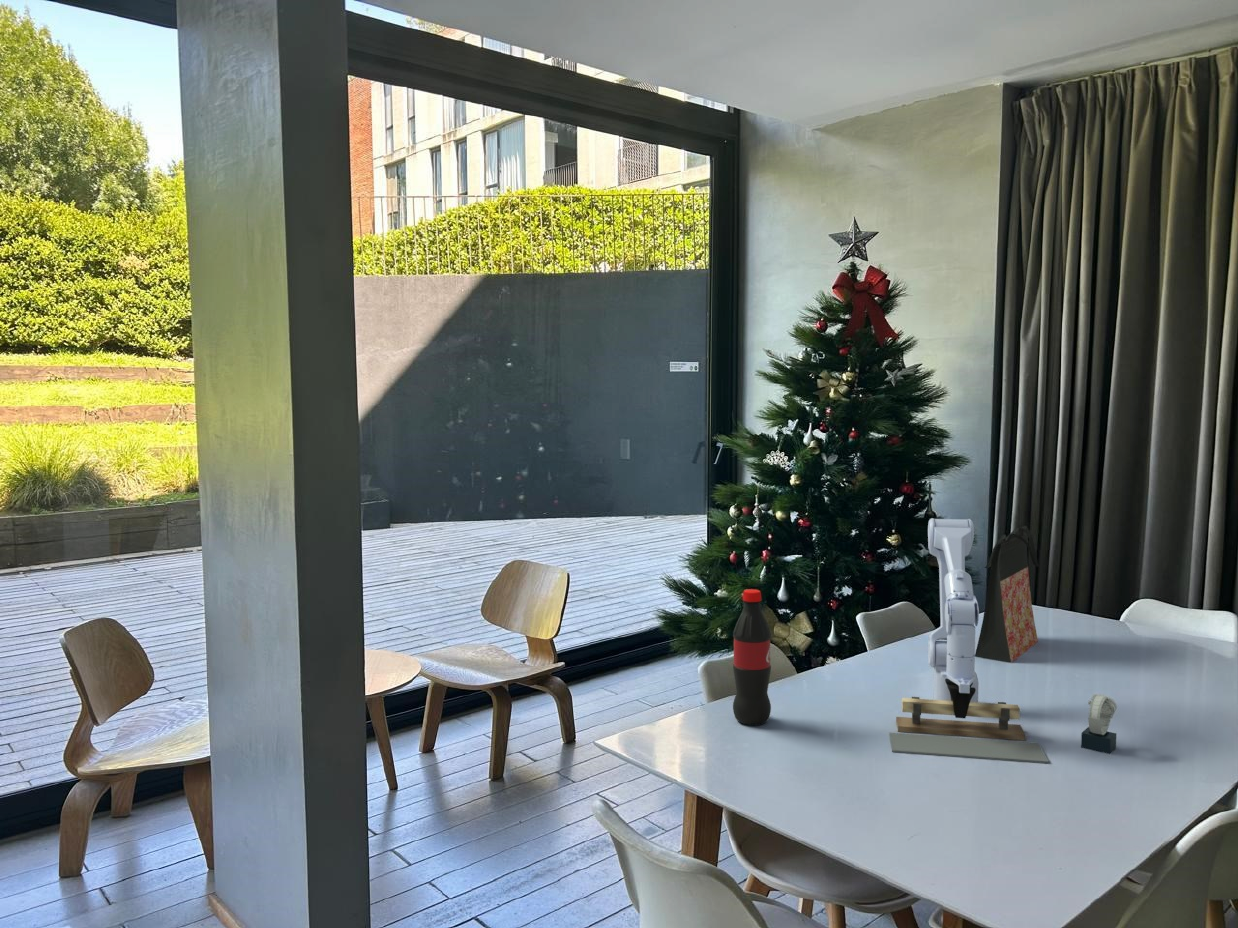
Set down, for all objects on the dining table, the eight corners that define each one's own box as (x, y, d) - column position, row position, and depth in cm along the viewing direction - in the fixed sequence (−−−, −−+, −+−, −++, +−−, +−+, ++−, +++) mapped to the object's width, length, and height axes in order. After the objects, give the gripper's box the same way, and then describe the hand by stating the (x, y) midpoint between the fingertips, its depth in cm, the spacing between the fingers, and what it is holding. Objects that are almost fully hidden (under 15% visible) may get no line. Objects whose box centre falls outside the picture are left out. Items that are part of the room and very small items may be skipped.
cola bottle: (775, 717, 215) (775, 587, 213) (764, 729, 207) (765, 595, 205) (739, 712, 219) (739, 584, 216) (728, 724, 211) (727, 592, 208)
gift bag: (1022, 664, 253) (1025, 535, 250) (968, 655, 262) (971, 530, 259) (1051, 640, 276) (1055, 522, 273) (1001, 633, 284) (1004, 518, 281)
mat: (1038, 744, 197) (1038, 742, 197) (1048, 763, 188) (1048, 761, 188) (889, 734, 204) (889, 732, 204) (892, 751, 194) (892, 749, 194)
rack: (1020, 729, 206) (1020, 702, 205) (1025, 740, 200) (1026, 711, 199) (896, 721, 211) (896, 694, 211) (898, 731, 206) (898, 703, 205)
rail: (1017, 715, 204) (1017, 704, 204) (1019, 719, 202) (1019, 708, 201) (901, 708, 209) (901, 697, 209) (902, 711, 207) (902, 701, 207)
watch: (1118, 745, 197) (1120, 693, 196) (1107, 756, 191) (1109, 703, 190) (1089, 738, 200) (1091, 688, 200) (1077, 749, 195) (1079, 697, 194)
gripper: (937, 643, 212) (936, 702, 213) (945, 662, 198) (943, 725, 199) (970, 645, 211) (969, 704, 212) (980, 664, 196) (979, 727, 198)
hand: (959, 715), depth 205 cm, fingers closed on rail, 2 cm apart
